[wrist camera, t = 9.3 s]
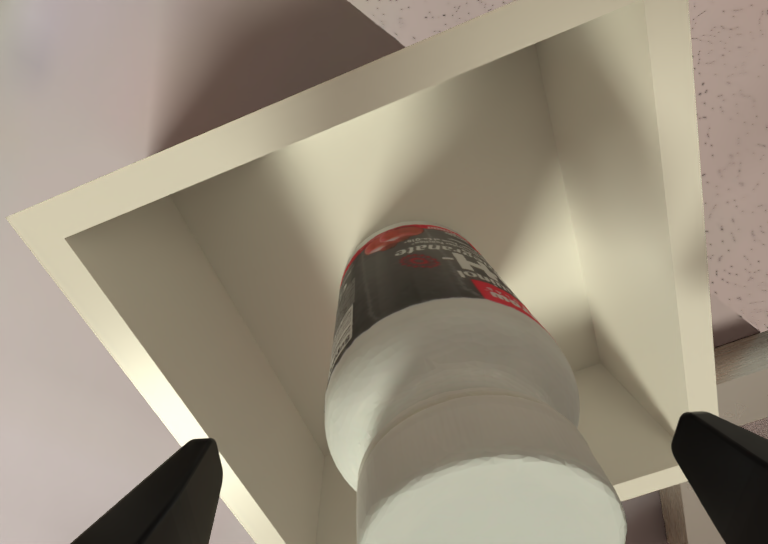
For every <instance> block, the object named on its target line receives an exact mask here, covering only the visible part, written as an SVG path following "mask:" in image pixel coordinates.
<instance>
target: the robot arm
mask: <svg viewBox="0 0 768 544" xmlns="http://www.w3.org/2000/svg"><path fill="white" fill-rule="evenodd" d="M671 450H672V453H673V456H674V458H675V460H676V462H677V463H678V465H679V467H680V468H681V470H682V472H683V473H684V475H685V477H686V478H687V480H688V482H689V484H690V485H691V487H692V489H693V490H694V492H695V494H696V495H697V497H698V499H699V501H700V502H701V504H702V506H703V507H704V509H705V511H706V512H707V514H708V516H709V517H710V519H711V521H712V523H713V524H714V526H715V527H716V529H717V531H718V532H719V534H720V536H721V537H722V539H723V540H724V542H725V543H726V544H768V440H767V439H765V438H763V437H761V436H759V435H757V434H754V433H752V432H750V431H748V430H746V429H744V428H742V427H739V426H737V425H735V424H733V423H731V422H729V421H727V420H724V419H722V418H720V417H718V416H716V415H714V414H712V413H709V412H706V411H694V412H685V413H683V414H682V415H681V416H680V418H679V421H678V424H677V427H676V430H675V433H674V436H673V439H672V442H671ZM222 482H223V469H222V464H221V460H220V455H219V451H218V447H217V443H216V441H215V439H213V438H198V439H192V440H190V441H188V442H187V443H186V444H185V445H184V446H182V447H181V448H180V449H179V450H178V451H177V452H175V453H174V454H173V455H172V456H171V457H170V458H169V459H167V460H166V461H165V462H164V463H163V464H162V465H160V466H159V467H158V468H157V469H156V470H155V471H154V472H152V473H151V474H150V475H149V476H148V477H147V478H145V479H144V480H143V481H142V482H141V483H140V484H139V485H137V486H136V487H135V488H134V489H133V490H132V491H130V492H129V493H128V494H127V495H126V496H125V497H124V498H122V499H121V500H120V501H119V502H118V503H117V504H115V505H114V506H113V507H112V508H111V509H110V510H109V511H107V512H106V513H105V514H104V515H103V516H102V517H100V518H99V519H98V520H97V521H96V522H95V523H94V524H92V525H91V526H90V527H89V528H88V529H87V530H85V531H84V532H83V533H82V534H81V535H80V536H79V537H77V538H76V539H75V540H74V541H73V542H72V543H70V544H209V539H210V535H211V530H212V526H213V522H214V517H215V513H216V509H217V504H218V500H219V496H220V491H221V487H222Z"/></svg>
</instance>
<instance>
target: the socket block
mask: <svg viewBox="0 0 768 544" xmlns="http://www.w3.org/2000/svg"><path fill="white" fill-rule="evenodd" d="M714 359H715V373H716V386H717V400H718V414H719V417H720V418H722V419H724V420H727V421H729V422H731V423H733V424H735V425H737V426H742V425H745V424H748V423H751V422H754V421H757V420H761V419H764V418H767V417H768V331H765V332H762V333H759V334H756V335H753V336H750V337H747V338H744V339H741V340H738V341H735V342H732V343H729V344H726V345H723V346H720V347H717V348H714ZM659 493H660V499H661V505H662V512H663V518H664V524H665V530H666V536H667V542H668V543H669V544H726V543H725V542H724V540H723V539H722V537H721V536H720V534H719V532H718V531H717V529H716V527H715V526H714V524H713V523H712V521H711V519H710V517H709V516H708V514H707V512H706V511H705V509H704V507H703V506H702V504H701V502H700V501H699V499H698V497H697V495H696V494H695V492H694V490H693V489H692V487H691V485H690V484H689V482H688V481H686V482H683V483H680V484H677V485H673V486H670V487H667V488H664V489H660V490H659Z"/></svg>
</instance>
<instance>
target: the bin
mask: <svg viewBox="0 0 768 544" xmlns="http://www.w3.org/2000/svg"><path fill="white" fill-rule="evenodd" d="M6 219H7V220H8V222H9V223H10V224H11V226H12V227H13V228H14V230H15V231H16V232H17V233H18V235H19V236H20V237H21V239H22V240H23V241H24V242H25V244H26V245H27V246H28V248H29V249H30V250H31V252H32V253H33V254H34V255H35V257H36V258H37V259H38V261H39V262H40V263H41V265H42V266H43V267H44V268H45V270H46V271H47V272H48V274H49V275H50V276H51V278H52V279H53V280H54V281H55V283H56V284H57V285H58V287H59V288H60V289H61V291H62V292H63V293H64V294H65V296H66V297H67V298H68V300H69V301H70V302H71V304H72V305H73V306H74V307H75V309H76V310H77V311H78V313H79V314H80V315H81V317H82V318H83V319H84V320H85V322H86V323H87V324H88V326H89V327H90V328H91V330H92V331H93V332H94V333H95V335H96V336H97V337H98V339H99V340H100V341H101V343H102V344H103V345H104V346H105V348H106V349H107V350H108V352H109V353H110V354H111V355H112V357H113V358H114V359H115V361H116V362H117V363H118V365H119V366H120V367H121V368H122V370H123V371H124V372H125V374H126V375H127V376H128V378H129V379H130V380H131V381H132V383H133V384H134V385H135V387H136V388H137V389H138V391H139V392H140V393H141V394H142V396H143V397H144V398H145V400H146V401H147V402H148V404H149V405H150V406H151V407H152V409H153V410H154V411H155V413H156V414H157V415H158V417H159V418H160V419H161V420H162V422H163V423H164V424H165V426H166V427H167V428H168V430H169V431H170V432H171V433H172V435H173V436H174V437H175V439H176V440H177V441H178V443H179V444H180V445H181V446H184V445H185V444H186V443H187V442H188V441H190V440H192V439H198V438H213V439H215V441H216V443H217V447H218V451H219V455H220V460H221V464H222V469H223V482H222V487H221V491H220V497H221V498H222V500H223V501H224V502H225V504H226V505H227V506H228V507H229V509H230V510H231V511H232V513H233V514H234V515H235V517H236V518H237V519H238V520H239V522H240V523H241V524H242V526H243V527H244V528H245V530H246V531H247V532H248V533H249V535H250V536H251V537H252V539H253V540H254V541H255V543H256V544H357V527H356V510H357V492H356V491H355V490H354V489H353V488H352V487H351V486H350V485H349V484H348V482H347V481H346V480H345V479H344V477H343V476H342V474H341V473H340V471H339V470H338V468H337V466H336V464H335V462H334V460H333V458H332V456H331V453H330V450H329V447H328V443H327V439H326V432H325V413H324V406H325V393H326V389H327V383H328V376H329V370H330V362H331V353H332V346H333V337H334V330H335V323H336V313H337V307H338V299H339V290H340V285H341V278H342V275H343V272H344V269H345V267H346V265H347V262H348V260H349V258H350V257H351V255H352V254H353V252H354V251H355V250H356V248H357V247H358V246H359V245H360V244H361V243H362V242H363V241H364V240H365V239H367V238H368V237H369V236H371V235H372V234H374V233H376V232H377V231H379V230H381V229H383V228H385V227H388V226H391V225H393V224H396V223H400V222H407V221H427V222H433V223H437V224H441V225H444V226H446V227H448V228H451V229H452V230H454V231H456V232H458V233H459V234H460V235H462V236H463V237H464V238H466V239H467V240H468V241H469V242H470V243H471V244H472V245H473V246H474V248H475V249H476V250H477V251H478V252H479V253H480V254H481V255H482V256H483V257H484V259H485V260H486V261H487V262H488V264H489V265H490V266H491V267H492V268H493V269H494V270H495V271H496V273H497V274H498V275H499V276H500V278H501V279H502V280H503V281H504V282H505V283H506V284H507V286H508V287H509V288H510V289H511V291H512V292H513V293H514V294H515V295H516V296H517V298H518V299H519V300H520V301H521V302H522V303H523V304H524V305H525V306H526V308H527V309H528V310H529V312H530V313H531V314H532V315H533V316H534V317H535V318H536V319H537V320H538V321H539V323H540V324H541V325H542V326H543V327H544V328H545V329H546V331H547V332H548V333H549V334H550V335H551V336H552V337H553V339H554V340H555V341H556V343H557V344H558V346H559V348H560V349H561V350H562V352H563V354H564V355H565V357H566V359H567V361H568V363H569V364H570V366H571V368H572V371H573V374H574V377H575V380H576V384H577V387H578V392H579V402H580V414H579V422H578V428H577V429H578V431H579V432H580V433H581V434H582V436H583V437H584V439H585V440H586V442H587V443H588V445H589V448H590V450H591V452H592V454H593V456H594V457H595V459H596V460H597V462H598V463H599V465H600V466H601V468H602V469H603V471H604V472H605V474H606V476H607V477H608V479H609V481H610V482H611V484H612V485H613V487H614V489H615V490H616V492H617V495H618V497H619V499H620V501H625V500H628V499H631V498H634V497H638V496H641V495H644V494H647V493H651V492H654V491H657V490H660V489H664V488H667V487H670V486H673V485H677V484H680V483H683V482H686V481H688V480H687V478H686V477H685V475H684V473H683V472H682V470H681V468H680V467H679V465H678V463H677V462H676V460H675V458H674V456H673V453H672V450H671V442H672V439H673V436H674V433H675V430H676V427H677V424H678V421H679V418H680V416H681V415H682V414H683V413H685V412H694V411H706V412H709V413H712V414H714V415H716V416H718V417H719V414H718V400H717V386H716V373H715V359H714V346H713V332H712V318H711V305H710V291H709V278H708V264H707V250H706V237H705V223H704V209H703V196H702V182H701V169H700V155H699V141H698V128H697V114H696V101H695V87H694V73H693V60H692V46H691V32H690V19H689V5H688V0H516V1H514V2H511V3H509V4H507V5H504V6H502V7H500V8H497V9H495V10H493V11H490V12H488V13H486V14H483V15H481V16H479V17H476V18H474V19H471V20H469V21H467V22H464V23H462V24H460V25H457V26H455V27H453V28H450V29H448V30H446V31H443V32H441V33H439V34H436V35H434V36H431V37H429V38H427V39H424V40H422V41H420V42H417V43H415V44H413V45H410V46H408V47H406V48H403V49H401V50H399V51H396V52H394V53H392V54H389V55H387V56H384V57H382V58H380V59H377V60H375V61H373V62H370V63H368V64H366V65H363V66H361V67H359V68H356V69H354V70H352V71H349V72H347V73H344V74H342V75H340V76H337V77H335V78H333V79H330V80H328V81H326V82H323V83H321V84H319V85H316V86H314V87H312V88H309V89H307V90H304V91H302V92H300V93H297V94H295V95H293V96H290V97H288V98H286V99H283V100H281V101H279V102H276V103H274V104H272V105H269V106H267V107H265V108H262V109H260V110H257V111H255V112H253V113H250V114H248V115H246V116H243V117H241V118H239V119H236V120H234V121H232V122H229V123H227V124H225V125H222V126H220V127H217V128H215V129H213V130H210V131H208V132H206V133H203V134H201V135H199V136H196V137H194V138H192V139H189V140H187V141H185V142H182V143H180V144H177V145H175V146H173V147H170V148H168V149H166V150H163V151H161V152H159V153H156V154H154V155H152V156H149V157H147V158H145V159H142V160H140V161H138V162H135V163H133V164H130V165H128V166H126V167H123V168H121V169H119V170H116V171H114V172H112V173H109V174H107V175H105V176H102V177H100V178H98V179H95V180H93V181H90V182H88V183H86V184H83V185H81V186H79V187H76V188H74V189H72V190H69V191H67V192H65V193H62V194H60V195H58V196H55V197H53V198H50V199H48V200H46V201H43V202H41V203H39V204H36V205H34V206H32V207H29V208H27V209H25V210H22V211H20V212H18V213H15V214H13V215H11V216H8V217H6Z"/></svg>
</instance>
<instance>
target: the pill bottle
mask: <svg viewBox="0 0 768 544" xmlns="http://www.w3.org/2000/svg"><path fill="white" fill-rule="evenodd" d="M324 413H325V432H326V439H327V443H328V447H329V450H330V453H331V456H332V458H333V460H334V462H335V464H336V466H337V468H338V470H339V471H340V473H341V474H342V476H343V477H344V479H345V480H346V481H347V482H348V484H349V485H350V486H351V487H352V488H353V489H354V490H355V491H356V492H357V510H356V527H357V544H625V542H626V534H627V522H626V517H625V512H624V509H623V505H622V503H621V501H620V499H619V497H618V495H617V492H616V490H615V489H614V487H613V485H612V484H611V482H610V481H609V479H608V477H607V476H606V474H605V472H604V471H603V469H602V468H601V466H600V465H599V463H598V462H597V460H596V459H595V457H594V456H593V454H592V452H591V450H590V448H589V445H588V443H587V442H586V440H585V439H584V437H583V436H582V434H581V433H580V432H579V431H578V429H577V428H578V422H579V414H580V402H579V392H578V387H577V384H576V380H575V377H574V374H573V371H572V368H571V366H570V364H569V363H568V361H567V359H566V357H565V355H564V354H563V352H562V350H561V349H560V348H559V346H558V344H557V343H556V341H555V340H554V339H553V337H552V336H551V335H550V334H549V333H548V332H547V331H546V329H545V328H544V327H543V326H542V325H541V324H540V323H539V321H538V320H537V319H536V318H535V317H534V316H533V315H532V314H531V313H530V312H529V310H528V309H527V308H526V306H525V305H524V304H523V303H522V302H521V301H520V300H519V299H518V298H517V296H516V295H515V294H514V293H513V292H512V291H511V289H510V288H509V287H508V286H507V284H506V283H505V282H504V281H503V280H502V279H501V278H500V276H499V275H498V274H497V273H496V271H495V270H494V269H493V268H492V267H491V266H490V265H489V264H488V262H487V261H486V260H485V259H484V257H483V256H482V255H481V254H480V253H479V252H478V251H477V250H476V249H475V248H474V246H473V245H472V244H471V243H470V242H469V241H468V240H467V239H466V238H464V237H463V236H462V235H460V234H459V233H458V232H456V231H454V230H452V229H451V228H448V227H446V226H444V225H441V224H437V223H433V222H427V221H407V222H400V223H396V224H393V225H391V226H388V227H385V228H383V229H381V230H379V231H377V232H376V233H374V234H372V235H371V236H369V237H368V238H367V239H365V240H364V241H363V242H362V243H361V244H360V245H359V246H358V247H357V248H356V250H355V251H354V252H353V254H352V255H351V257H350V258H349V260H348V262H347V265H346V267H345V269H344V272H343V275H342V278H341V285H340V290H339V299H338V307H337V313H336V323H335V330H334V337H333V346H332V353H331V362H330V370H329V376H328V383H327V389H326V393H325V406H324Z"/></svg>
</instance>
